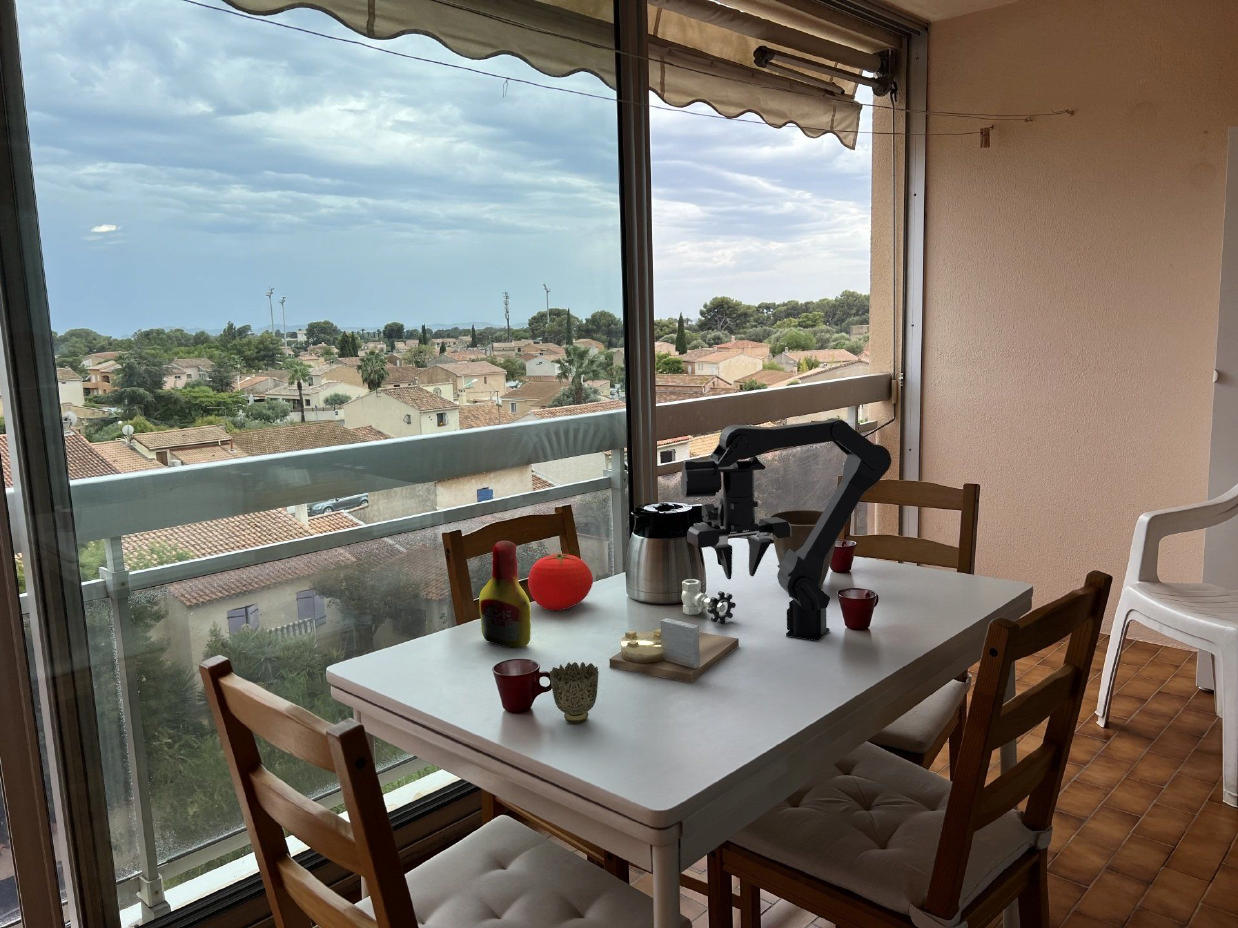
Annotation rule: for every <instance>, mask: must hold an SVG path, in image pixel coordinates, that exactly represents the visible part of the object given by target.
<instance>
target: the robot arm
mask: <svg viewBox="0 0 1238 928" xmlns="http://www.w3.org/2000/svg"><path fill="white" fill-rule="evenodd" d="M831 442H832V443H833V444H834V445H835V446H836V447H837V448H838V449H839V450H840V451H841V452H842V453H844V454H845V455H846V458H845V461H844V464H843V469H842V475H841V480H840V483H839V485H838V486H837V488H836V490H835V491H834V493H833V495H832V496H831V498H830V499H829V502H828V503H827V504H826V506H825V509H824V510H822V511H823V513H822V515H821V517H820V518H819V520H818V522H817V523H816V525H815V527H814V528H813V530H812V532H811V534H810V535H809V537H808V539H807V540H806V542H805V544H804V545H803V546H802V547H801V548H800V549H799V550H797V551H796V552H795V553H794V552H793V551H792V550H790V549H788V551H787V552H786V555H785V557H784V559H783V561H782V562H781V563H780V564H779V563H778V565H776V566H777V567H778V569H779V570H778V571H777V580H778V584H779V585H780V587H781V588H782V589H783V590H784V591H785V592H786V593H787V594H788V597H789V598H791V600H790V601H788V608H787V609H786V630H787V632H786V633H785V636H787V637H790V638H796V639H802V640H810V641H814V642H815V641H816V642H820V641H821V640H822V639H823V638H824V637H825V636H826V635H827V634H829V632H830V630H831V628H829V627H827V608H828V606H829V603H830V601H831V596H829V595H828V594H827V593H826V592H825V591H824V590H823V589H822V588H821V589H820V588H819V587H818V585H819V583H820V580H821V578H822V574H823V567H824V561H825V558H826V556H827V555H828V553H829V551H830V549H831V548H832V546H833V544H834V543H835V541H836V542H837V540H838V537H839V536H840V534H841V533H842V531H843V530H844V528H845V525H846V524H847V523H848V521H849V519H850V517H852V514H853V512H854V511H855V509H856V508H857V505H858V504H859V502H860V500H861V499H862V497H863V495H864V494H865V493H866V492H867V491H869V490H870V489H871V488H872V487H873V486H875V485H876V484H877V483H879V481H880V480H881V479H882V478H883V477H884V475H886V473H887V472H888V471H889V470H890V467H891V466H892V461H893V460H892V457H891V453H890V451H889V450H888V448H886V447H885V446H884V445H881V444H877V443H874V442H871V440H869V439H868V438H866V437H865V436H864V435H862V434H861V433H859V432H858V431H857V430H856V429H854V428H853V427H851V426H850V425H849V423H848V422H847V421H845V420H843V419H839V418H837V417H836V418H835V417H832V418H831V417H830V418H828V419H824V420H818V421H817V420H816V421H808V422H801V423H800V422H799V423H792V424H786V425H785V424H784V425H776V426H770V427H769V426H756V425H749V424H746V425H745V424H731V425H728V426H726V427H724V428H723V430H722V431H721V433H720V435H719V438H718V444H717V445H716V447H715V448H714V450H713V451H712V453H711V454H710V456H708V459H699V460H693V459H684V460H683V461H682V469H681V475H680V488H681V493H682V497H683V498H684V499H689V498H703V497H715V496H716V495H717V493H719V492H720V491H721V489H722V498H720V499H719V506H716V507H715V504H714V503H707V504H703V505H701V519H702V521H703V523H709V522H711V526H710V525H708V524H705V525H695V526H689V529H687V532H686V541H687V543H689V544H691V545H693V546H695V547H696V548H701V549H703V548H712V549H714V551H715V552H716V555H717V557H718V559H719V561H720V564H721V567H722V570H723V572H724V574H725V578H726V579H727V580H731V579H732V574H733V546H732V545H731V544H729V539H733V538H740V537H741V538H742V537H746V540H747V543H748V572H749V573H748V574H749V576H751V577H754V576H755V575H756V572H757V569H759V568H758V567H759V565H760V563H761V562H762V560H763V557H764V556H765V554H766V552H767V550H768V548H769V546H770V545H771V544H772V545H774V540H773V538H771V535H772V533H773V535H774V536H775V537H776V538H786V537H791V536H792V533H791V525H790V523H789V522H788V521H785V520H783V519H780V518H778V517H772V518H770V517H765V518H760V519H759V521H758V523H757V522H756V514H755V513H756V512H755V510H756V508H758V507H759V501H757V500H756V497H755V471H764V470H766V468H767V467H766V465H764V464H763V463H762V462H761V461H760V460H759V459H758V456H761V455H762V454H765V453H768V452H770V451H772V450H776V449H782V448H791V447H798V446H807V445H808V446H809V445H815V444H822V443H831ZM714 527H723V528H714ZM835 544H836V543H835Z"/></svg>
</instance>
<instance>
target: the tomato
mask: <svg viewBox="0 0 1238 928" xmlns="http://www.w3.org/2000/svg"><path fill="white" fill-rule="evenodd" d="M593 580H594V578H593V574H592V572H591V570H590V567H589V566H588V565H587V564H586V562H585V561H584V560H582V559H580V558H579V557H577V556H575V555H572V554H570V553H569V552H568V553H553V554H549V555H546V556H544V557H542V558H540V559H538V560H537V561H536V562H535V563H534V564H533V565H532V567H531V569H530V570H529V574H528V578H527V585H528V589H529V594H530V595H531V597H532V599H533V600H534V601H535V602H536V604H538V605H539V606H540V607H541V608H543V609H545V610H548V611H562V610H566V609H569V608H572V607H574V606H576V605H578V604H580V603H581V602H582V601H583V600H584V599H585V598H586V597H587V596H588V595H589V593H590V591H591V589H592V586H593V582H594V581H593Z"/></svg>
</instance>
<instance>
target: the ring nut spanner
mask: <svg viewBox="0 0 1238 928" xmlns="http://www.w3.org/2000/svg"><path fill="white" fill-rule="evenodd" d="M659 621H660V627H661V629H658V628H657V629H655V630H653V631H654V632H653V631H638V632H637V631H634V630H629V631H626V632H625V635H624V636H623V637H622V638H621V639H620V650H621V651H620V652H621V655H622V657H623V658H625V659H626V660H629V661H632V662H639V663H651V662H658V661H662V660H665V661H669V662H672V663H676V664H680V665H683V666H687V667H690V668H696V667H698V666H700V650H699V632H700V625H697V624H693V623H689V622H684V621H680V620H676V619H672V618H667V617H665V618H663V619H661V620H659Z"/></svg>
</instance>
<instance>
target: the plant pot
mask: <svg viewBox="0 0 1238 928" xmlns="http://www.w3.org/2000/svg"><path fill="white" fill-rule="evenodd" d="M823 511H824V510H813V509H812V510H811V509H795V510H794V509H793V510H784V511H780V512H776V513H773V514H772V515H770V516H769V518H772V517H778V518H780V519H783V520H785V521H788V522H789V523H790V525H791V533H792V536H791V537H786V538H776V537H775V536H774V535H773V533H771V535H772V540H774V543H773V545H774V551H775V553H776V557H777V560H778V565H779V564H780V563H781V562H782V561H783V559H784V557H785V555H786V552H787V551H788V549H790V550H792V551H793V552H794V553H795V552H796V551H797V550H799V549H800V548H801V547H802V546H803V545H804V544H805V542H806V540H807V539H808V537H809V535H810V534H811V532H812V530H813V528H814V527H815V525H816V523H817V522H818V520H819V518H820V517H821V515H822V513H823ZM836 542H837V540H836V541H835V543H834V544H833V546H832V548H831V549H830V551H829V553H828V555H827V556H826V558H825V561H824V567H823V574H822V578H821V580H820V583H819V585H818V587H819V588H820V589H821V590H822V589H823V585H824V584H825V583H824V582H825V580H826V578H827V575H828V573H829V570H830V566H831V564H832V559H833V556H834V553H835V552H834V551H835V547H836Z"/></svg>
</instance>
